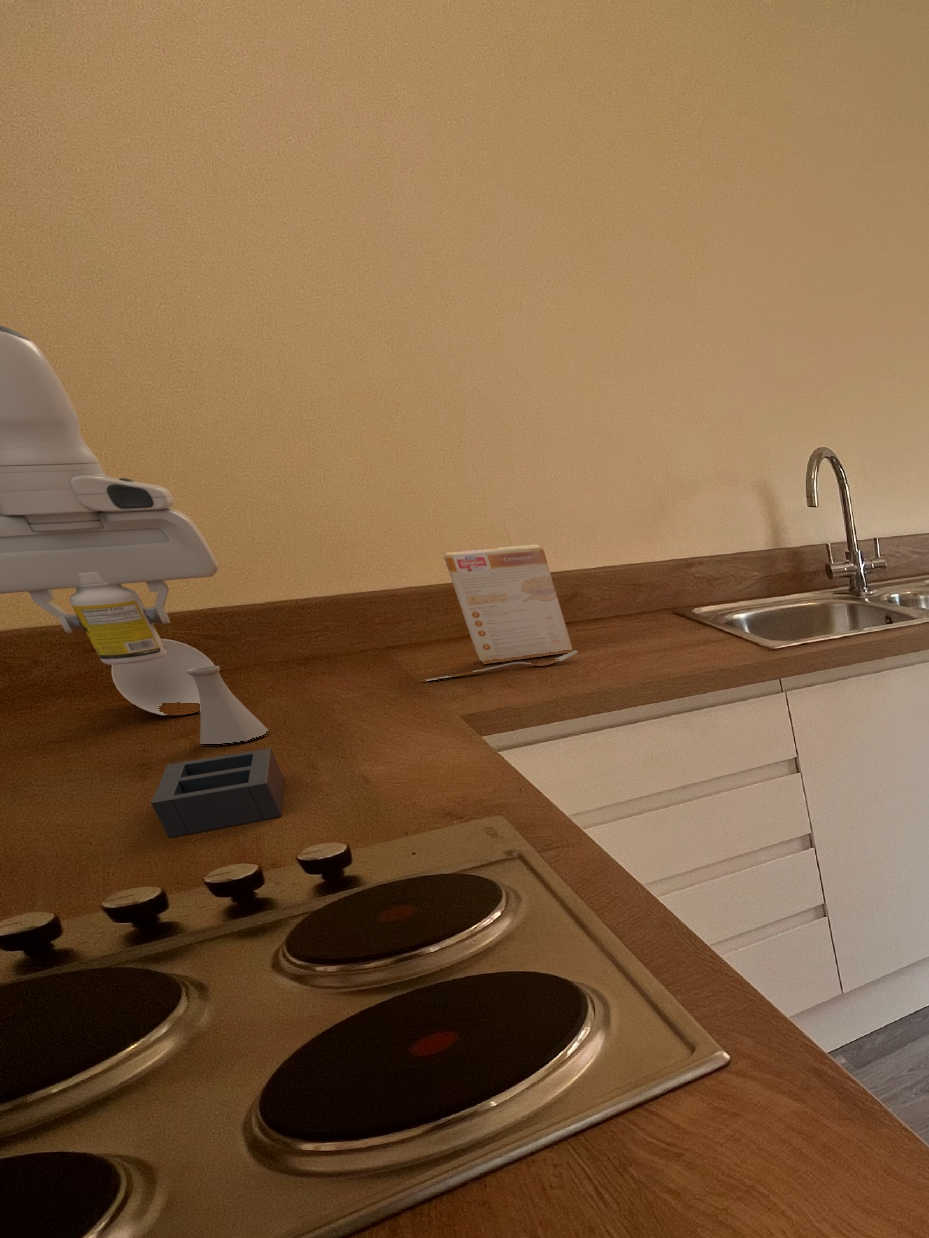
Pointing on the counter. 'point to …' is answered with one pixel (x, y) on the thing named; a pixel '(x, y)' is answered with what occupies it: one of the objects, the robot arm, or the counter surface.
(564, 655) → the fork
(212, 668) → the flask
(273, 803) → the holder
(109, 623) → the supplement bottle
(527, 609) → the coffeecake box
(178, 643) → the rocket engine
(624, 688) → the counter surface
